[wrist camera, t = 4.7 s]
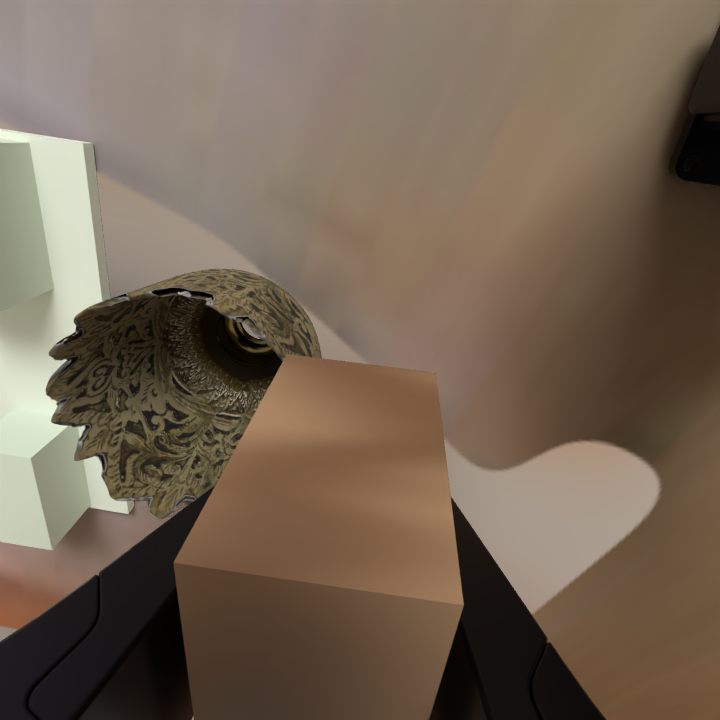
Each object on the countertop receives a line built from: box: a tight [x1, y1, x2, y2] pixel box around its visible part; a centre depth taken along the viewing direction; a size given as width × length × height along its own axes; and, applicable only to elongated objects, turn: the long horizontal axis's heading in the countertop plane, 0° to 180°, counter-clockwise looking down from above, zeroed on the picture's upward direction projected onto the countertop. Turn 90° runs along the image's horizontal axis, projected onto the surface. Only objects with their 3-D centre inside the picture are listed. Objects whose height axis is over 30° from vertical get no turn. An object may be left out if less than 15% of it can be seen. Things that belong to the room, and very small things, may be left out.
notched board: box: [0, 129, 134, 550], centre depth 19 cm, size 7×18×4 cm, turn 172°
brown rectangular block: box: [174, 354, 464, 720], centre depth 8 cm, size 3×4×5 cm, turn 174°
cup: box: [45, 269, 322, 519], centre depth 16 cm, size 8×7×8 cm
